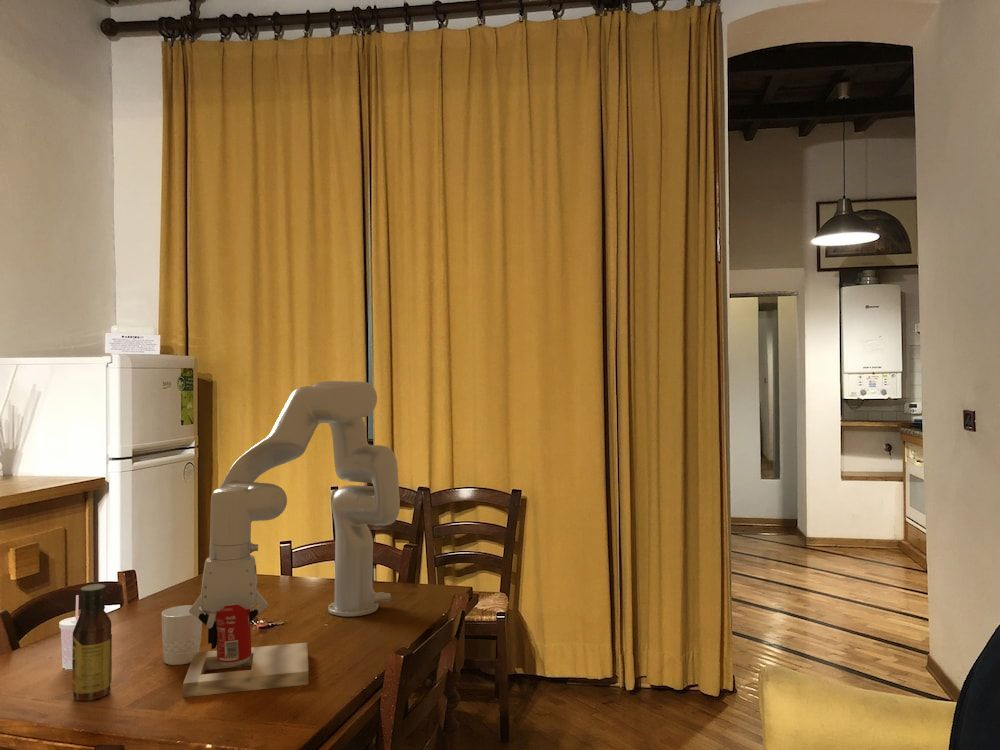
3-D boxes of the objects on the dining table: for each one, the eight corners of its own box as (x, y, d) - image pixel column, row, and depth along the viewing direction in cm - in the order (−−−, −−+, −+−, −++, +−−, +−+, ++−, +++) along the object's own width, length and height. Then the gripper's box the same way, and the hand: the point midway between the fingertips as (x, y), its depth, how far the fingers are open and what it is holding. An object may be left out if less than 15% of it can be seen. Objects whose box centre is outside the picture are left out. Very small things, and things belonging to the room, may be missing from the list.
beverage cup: (96, 665, 143) (98, 595, 143) (62, 673, 138) (63, 601, 139) (88, 657, 147) (90, 589, 147) (54, 664, 143) (56, 595, 143)
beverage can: (257, 655, 141) (255, 595, 141) (242, 668, 135) (240, 605, 135) (226, 655, 142) (224, 595, 142) (211, 668, 135) (209, 605, 135)
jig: (306, 654, 150) (306, 642, 150) (308, 684, 134) (308, 671, 134) (194, 664, 143) (194, 652, 144) (182, 697, 128) (182, 683, 128)
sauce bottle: (82, 689, 131) (85, 581, 132) (117, 688, 132) (119, 580, 132) (63, 704, 125) (66, 591, 125) (100, 703, 125) (103, 590, 126)
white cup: (210, 655, 149) (211, 607, 149) (182, 668, 141) (183, 618, 142) (180, 650, 151) (181, 603, 152) (151, 663, 144) (152, 614, 144)
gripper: (275, 545, 144) (274, 635, 144) (186, 549, 140) (184, 642, 139) (275, 553, 137) (273, 648, 137) (180, 558, 132) (178, 656, 132)
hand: (228, 644), depth 138 cm, fingers closed on beverage can, 4 cm apart
